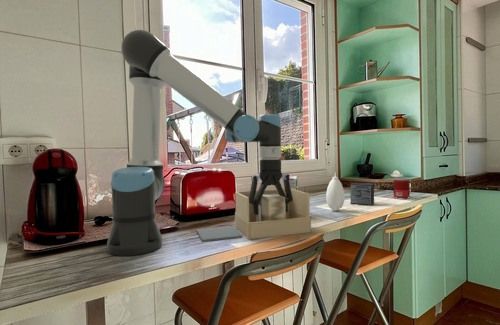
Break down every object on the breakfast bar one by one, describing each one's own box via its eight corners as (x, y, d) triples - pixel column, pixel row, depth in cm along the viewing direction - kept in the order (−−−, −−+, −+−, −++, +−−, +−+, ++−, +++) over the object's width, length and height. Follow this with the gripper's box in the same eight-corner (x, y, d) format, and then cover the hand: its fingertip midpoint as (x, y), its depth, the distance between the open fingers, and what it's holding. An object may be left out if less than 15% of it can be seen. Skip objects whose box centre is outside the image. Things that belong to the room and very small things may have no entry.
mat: (202, 241, 93) (202, 239, 93) (196, 230, 105) (196, 229, 105) (242, 237, 97) (242, 235, 97) (232, 227, 109) (232, 225, 109)
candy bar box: (287, 212, 134) (287, 175, 134) (298, 212, 133) (298, 175, 133) (285, 217, 123) (285, 178, 123) (297, 218, 122) (297, 178, 122)
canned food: (412, 199, 164) (412, 179, 164) (397, 199, 164) (397, 179, 164) (405, 196, 172) (405, 177, 171) (391, 196, 172) (391, 177, 172)
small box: (374, 204, 151) (374, 183, 151) (372, 206, 146) (372, 184, 146) (353, 202, 157) (353, 182, 157) (350, 204, 152) (350, 183, 151)
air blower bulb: (337, 208, 141) (337, 170, 140) (347, 211, 134) (347, 171, 133) (323, 209, 139) (322, 171, 138) (332, 213, 131) (332, 172, 130)
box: (269, 234, 100) (268, 198, 100) (258, 226, 110) (258, 194, 109) (285, 232, 102) (285, 197, 102) (274, 225, 112) (273, 193, 111)
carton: (248, 239, 95) (248, 198, 94) (235, 227, 110) (234, 191, 109) (311, 232, 102) (311, 194, 101) (290, 221, 117) (290, 188, 116)
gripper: (244, 159, 99) (245, 227, 100) (302, 158, 105) (303, 222, 106) (238, 159, 106) (239, 222, 107) (293, 157, 112) (293, 217, 113)
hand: (271, 222), depth 106 cm, fingers open, 9 cm apart
